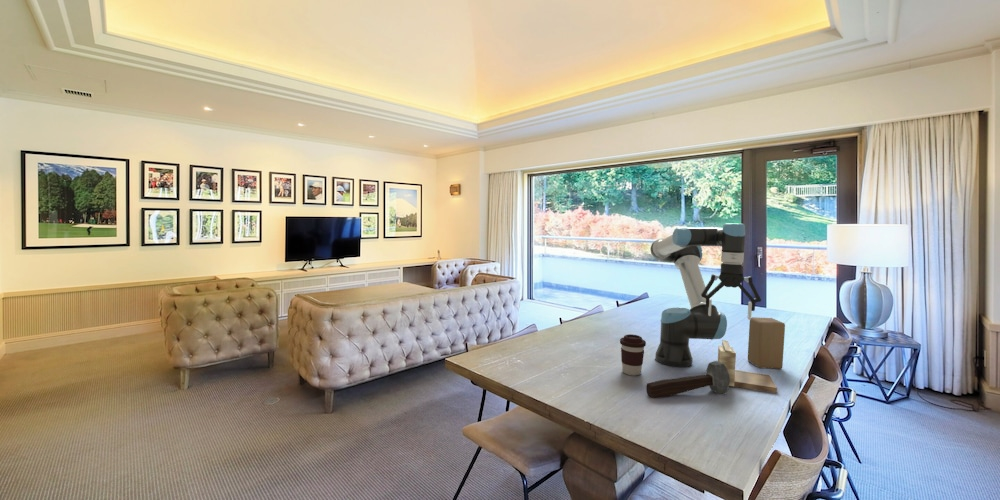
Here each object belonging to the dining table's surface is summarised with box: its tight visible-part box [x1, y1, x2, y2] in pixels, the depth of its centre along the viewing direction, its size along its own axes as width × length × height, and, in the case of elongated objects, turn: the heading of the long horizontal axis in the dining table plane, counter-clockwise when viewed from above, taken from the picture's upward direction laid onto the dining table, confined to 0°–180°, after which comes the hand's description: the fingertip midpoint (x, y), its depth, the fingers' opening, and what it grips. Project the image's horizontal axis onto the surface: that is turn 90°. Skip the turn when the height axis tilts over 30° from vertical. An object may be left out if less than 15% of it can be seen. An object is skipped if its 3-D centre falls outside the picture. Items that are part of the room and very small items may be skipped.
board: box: [733, 369, 778, 394], centre depth 156 cm, size 20×14×2 cm
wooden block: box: [747, 316, 786, 370], centre depth 175 cm, size 10×10×20 cm
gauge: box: [717, 339, 737, 387], centre depth 157 cm, size 5×14×13 cm, turn 155°
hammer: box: [645, 360, 730, 399], centre depth 144 cm, size 5×11×30 cm
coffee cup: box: [619, 333, 647, 377], centre depth 164 cm, size 10×10×15 cm
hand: (729, 317), depth 157 cm, fingers open, 13 cm apart
